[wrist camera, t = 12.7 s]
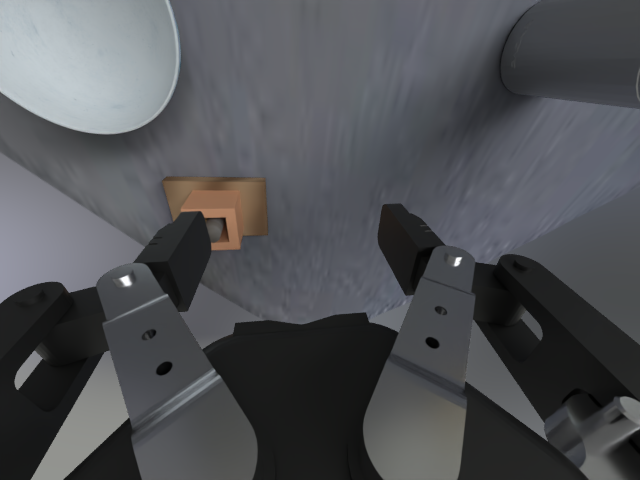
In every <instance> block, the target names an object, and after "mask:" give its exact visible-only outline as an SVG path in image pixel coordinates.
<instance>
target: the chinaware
mask: <svg viewBox="0 0 640 480" xmlns="http://www.w3.org/2000/svg"><path fill="white" fill-rule="evenodd" d="M180 65H181V46H180V37H179V31H178V27H177V22H176V19H175V15H174V12H173V9H172V6H171V3H170V1H169V0H0V92H1V93H2V94H4V95H5V96H7V97H8V98H9V99H11V100H12V101H14V102H15V103H17V104H18V105H20V106H22V107H23V108H25V109H27V110H28V111H30V112H32V113H34V114H36V115H37V116H39V117H42V118H44V119H46V120H48V121H50V122H53V123H55V124H58V125H60V126H63V127H66V128H69V129H73V130H77V131H81V132H86V133H93V134H119V133H125V132H129V131H132V130H135V129H138V128H140V127H142V126H144V125H146V124H148V123H149V122H151V121H152V120H153V119H155V118H156V117H157V116H158V115H159V114H160V113H161V112H162V111H163V109H164V108H165V107H166V105H167V104H168V102H169V101H170V99H171V97H172V95H173V93H174V91H175V88H176V85H177V82H178V78H179V73H180Z"/></svg>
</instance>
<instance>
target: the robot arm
mask: <svg viewBox="0 0 640 480" xmlns="http://www.w3.org/2000/svg"><path fill="white" fill-rule="evenodd" d="M500 67H501V77H502V81H503V83H504V85H505V86H506V88H507V89H508V90H509V91H511V92H513V93H515V94H521V95H529V96H537V97H544V98H552V99H561V100H569V101H577V102H586V103H594V104H602V105H611V106H619V107H627V108H636V109H640V0H541V1H540V2H538V3H537V4H536V5H534V6H533V7H532V8H530V9H529V10H528V11H527V12H526V13H525V14H524V15H523V16H522V18H521V19H520V20H519V21H518V23H517V24H516V25H515V27H514V29H513V30H512V32H511V34H510V35H509V38H508V40H507V42H506V44H505V47H504V50H503V54H502V58H501V65H500ZM378 244H379V247H380V249H381V250H382V252H383V254H384V256H385V258H386V260H387V262H388V264H389V265H390V267H391V269H392V271H393V273H394V275H395V277H396V279H397V280H398V282H399V284H400V286H401V288H402V290H403V292H404V294H405V295H406V296H407V295H414V296H413V299H412V301H411V304H410V306H409V309H408V311H407V314H406V316H405V319H404V321H403V324H402V326H401V329H400V331H399V333H398V332H397V331H395V330H392V329H390V328H388V327H385V326H382V325H379V324H375V323H370V322H369V321H368V318H367V315H366V312H365V313H352V314H340V315H333V316H330V317H327V318H323V319H320V320H317V321H314V322H310V323H307V324H302V325H301V324H292V323H285V322H278V321H270V320H266V321H254V322H241V323H235V327H234V332H233V334H231V335H228V336H226V337H223V338H221V339H219V340H217V341H215V342H213V343H212V344H210V345H208V346H207V347H206V348H204V349H203V350H202V349H201V347H200V346H199V344H198V342H197V341H196V339H195V338H194V336H193V334H192V333H191V331H190V330H189V328H188V326H187V325H186V323H185V321H184V320H183V318H182V317H181V315H180V313H179V312H185V311H188V309H189V307H190V304H191V302H192V300H193V297H194V295H195V292H196V289H197V287H198V285H199V282H200V280H201V278H202V275H203V273H204V270H205V268H206V265H207V263H208V261H209V258H210V256H211V249H212V248H211V240H210V237H209V233H208V229H207V226H206V222H205V218H204V215H203V213H202V212H201V211H189V212H181V213H180V214H179V216H178V217H177V218H176V220H175V221H174V222H173V223H171V224H168V225H166V226H165V227H163V228H162V229H160V230H159V231H158V232H157V234H156V235H155V236H154V237H153V239H152V240H151V241H150V242H149V245H147V246H146V247H145V249H144V250H143V251H142V252H141V254H140V255H139V256H138V257H137V259H136V260H135V261H134V262H133V263H131V264H126V265H123V266H119V267H117V268H114V269H112V270H110V271H109V272H107V273H106V274H104V275H103V276H102V277H101V278H100V279H99V280H98V282H97V284H96V287H91V288H87V289H83V290H79V291H75V292H71V293H69V292H68V291H67V290H66V288H65V287H64V286H63V285H62V284H61V283H59V282H45V283H40V284H36V285H33V286H30V287H27V288H25V289H23V290H21V291H19V292H17V293H15V294H13V295H11V296H10V297H8V298H7V299H6V300H4V301H3V302H2V303H1V304H0V480H31V478H32V477H33V475H34V473H35V471H36V469H37V468H38V466H39V464H40V463H41V460H42V459H43V457H44V456H45V454H46V452H47V451H48V449H49V447H50V445H51V444H52V442H53V440H54V438H55V437H56V435H57V433H58V432H59V429H60V428H61V426H62V425H63V423H64V421H65V419H66V418H67V415H68V414H69V412H70V411H71V409H72V407H73V405H74V404H75V402H76V400H77V399H78V397H79V395H80V393H81V392H82V390H83V388H84V387H85V385H86V383H87V381H88V379H89V378H90V376H91V374H92V373H93V371H94V369H95V368H96V366H97V364H98V362H99V361H100V359H101V357H102V355H103V354H104V352H106V351H109V350H110V353H111V356H112V360H113V363H114V367H115V370H116V374H117V377H118V380H119V384H120V387H121V391H122V394H123V397H124V401H125V404H126V408H127V411H128V414H129V418H128V419H127V420H126V421H125V422H124V423H123V424H122V425H121V426H120V427H119V428H118V429H117V430H116V431H115V432H113V433H112V434H111V435H110V436H109V437H108V438H107V439H106V440H105V441H104V442H103V443H102V444H101V445H100V446H99V447H98V448H96V450H94V451H93V452H92V453H91V454H90V455H89V456H88V457H87V458H86V459H85V460H84V461H83V462H82V463H81V464H79V465H78V466H77V467H76V468H75V469H74V470H73V471H72V472H71V473H70V474H69V475H68V476H67V477H66V478H65V479H64V480H640V345H639V344H638V343H637V342H635V341H634V340H633V339H632V338H631V337H629V336H628V335H627V334H625V333H624V332H623V331H622V330H621V329H619V328H618V327H617V326H616V325H615V324H613V323H612V322H611V321H610V320H608V319H607V318H606V317H605V316H604V315H602V314H601V313H600V312H599V311H597V310H596V309H595V308H594V307H592V306H591V305H590V304H589V303H588V302H586V301H585V300H584V299H583V298H582V297H580V296H579V295H578V294H576V293H575V292H574V291H573V290H572V289H570V288H569V287H568V286H567V285H566V284H564V283H563V282H562V281H561V280H559V279H558V278H557V277H556V276H555V275H553V274H552V273H551V272H550V271H548V270H547V269H546V268H545V267H544V266H542V265H541V264H539V263H538V262H536V261H534V260H532V259H529V258H527V257H524V256H520V255H514V254H507V255H503V256H501V257H500V259H499V261H498V263H497V265H491V264H484V263H477V262H475V259H474V258H473V256H472V255H471V254H469V253H468V252H466V251H465V250H463V249H460V248H457V247H453V246H446V245H445V244H444V243H443V242H442V241H441V240H440V239H439V238H438V236H437V235H436V234H435V233H434V232H433V231H432V230H431V229H430V228H429V227H428V226H427V224H426V223H425V222H424V221H423V220H422V219H421V218H419V217H417V216H415V215H414V214H410V213H409V212H408V211H407V210H406V209H405V208H404V207H403V205H402V204H384V205H383V207H382V211H381V217H380V223H379V230H378ZM526 310H527V311H528V312H529V313H530V314H531V315H532V316H533V317H534V318H535V319H536V320H537V322H538V323H539V324H540V326H541V328H542V332H543V337H542V340H541V341H540V340H539V339H538V338H537V337H536V335H535V334H534V333H533V332H532V331H531V330H530V329H529V327H528V326H527V325H526V324H525V323H524V322H523V321H522V319H521V317H522V316H523V314H524V313H525V311H526ZM473 320H475V322H476V323H477V325H478V326H479V327H480V329H481V331H482V332H483V334H484V335H485V337H486V338H487V340H488V341H489V342H490V344H491V345H492V347H493V348H494V350H495V351H496V353H497V354H498V356H499V357H500V358H501V360H502V361H503V363H504V364H505V366H506V367H507V369H508V370H509V372H510V373H511V375H512V376H513V378H514V379H515V381H516V382H517V384H518V385H519V386H520V388H521V389H522V391H523V392H524V394H525V395H526V397H527V398H528V400H529V401H530V403H531V404H532V406H533V407H534V408H535V410H536V411H537V413H538V414H539V416H540V417H541V419H542V420H543V422H544V423H545V424H544V431H545V435H546V438H547V440H548V441H546V440H545V439H544V438H542V437H541V436H539V435H538V434H537V433H535V432H534V431H533V430H531V429H530V428H528V427H527V426H526V425H525V424H523V423H522V422H520V421H519V420H518V419H516V418H515V417H514V416H512V415H511V414H510V413H508V412H507V411H505V410H504V409H503V408H501V407H500V406H499V405H497V404H496V403H495V402H493V401H492V400H490V399H489V398H488V397H486V396H485V395H484V394H482V393H481V392H480V391H478V390H477V389H476V388H474V387H473V386H471V385H470V384H468V383H467V382H466V381H465V379H466V371H467V363H468V354H469V346H470V338H471V329H472V322H473ZM34 350H35V351H36V352H37V353H38V354H39V355H40V356H41V357H42V358H43V359H42V360H41V361H40V363H39V364H38V365H37V367H36V368H35V369H34V370H33V372H32V373H31V374H30V376H29V377H28V378H27V379H26V381H25V382H24V383H23V385H22V386H21V387H20V388H19V390H17V389H16V387H15V384H14V380H15V376H16V373H17V371H18V370H19V368H20V367H21V366H22V364H23V363H24V362H25V361H26V360H27V358H28V357H29V356H30V355H31V354H32V352H33V351H34Z"/></svg>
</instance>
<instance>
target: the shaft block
mask: <svg viewBox="0 0 640 480" xmlns="http://www.w3.org/2000/svg"><path fill="white" fill-rule="evenodd" d="M162 183H163V186H164V190H165V193H166V197H167V200H168V203H169V207H170V210H171V214H172V217H173V221H175V220H176V218H177V217H178V216H179V214H180V213H181V207H182V206H183V204H184V203H185V201H186V200H187V198H188V197H189V195H190V194H191V192H192V190H212V191H240V199H241V208H242V217H243V225H244V230H243V236H254V235H268V220H267V201H266V182H265V178H235V177H166V178H165V179H164V180H163V181H162ZM205 222H206V226H207V229H208V233H209V237H210V240H211V243H215V242H217V241H218V240H219V239H220V236H221V233H222V230H223V227H224V223H225V222H226V217H219V218H205Z"/></svg>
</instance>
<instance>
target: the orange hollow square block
mask: <svg viewBox="0 0 640 480" xmlns="http://www.w3.org/2000/svg"><path fill="white" fill-rule="evenodd" d="M189 211H201V212H202V213H203V215H204V218H219V217H226V222H225V223H224V227H223V230H222V233H221V236H220V239H219V240H218V241H217V242H215V243H211V248H212V249H211V250H235V249H240V247H241V241H242V236H243V230H244V225H243V217H242V208H241V199H240V191H212V190H192V192H191V194H190V195H189V197H188V198H187V200H186V201H185V203H184V204H183V206H182V207H181V212H189Z"/></svg>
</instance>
